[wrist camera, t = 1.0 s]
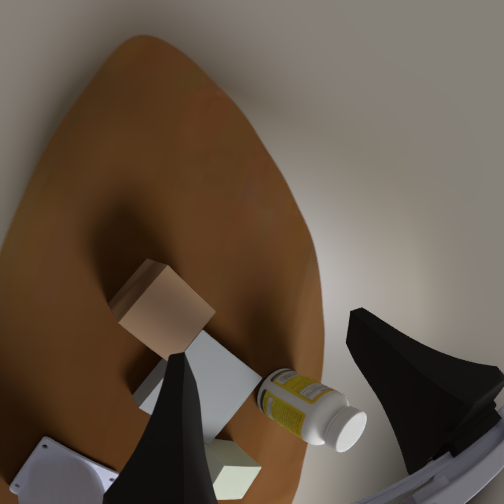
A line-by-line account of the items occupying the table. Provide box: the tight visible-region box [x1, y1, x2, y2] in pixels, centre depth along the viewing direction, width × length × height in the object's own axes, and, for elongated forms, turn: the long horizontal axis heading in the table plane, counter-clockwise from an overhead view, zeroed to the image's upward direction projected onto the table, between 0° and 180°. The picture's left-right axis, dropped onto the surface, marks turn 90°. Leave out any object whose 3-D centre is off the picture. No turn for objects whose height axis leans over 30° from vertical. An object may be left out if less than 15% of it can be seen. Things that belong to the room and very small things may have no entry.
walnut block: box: [108, 258, 216, 361], centre depth 19 cm, size 4×4×5 cm
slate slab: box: [133, 329, 262, 444], centre depth 23 cm, size 8×8×2 cm
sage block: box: [204, 439, 261, 500], centre depth 23 cm, size 4×4×5 cm
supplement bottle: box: [257, 369, 367, 452], centre depth 25 cm, size 6×6×10 cm
